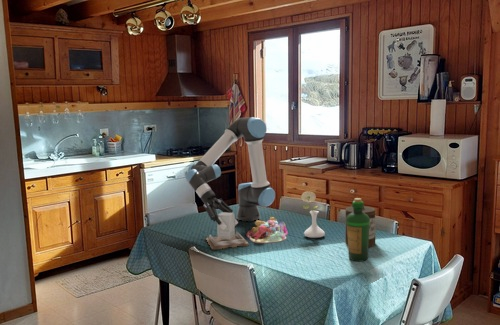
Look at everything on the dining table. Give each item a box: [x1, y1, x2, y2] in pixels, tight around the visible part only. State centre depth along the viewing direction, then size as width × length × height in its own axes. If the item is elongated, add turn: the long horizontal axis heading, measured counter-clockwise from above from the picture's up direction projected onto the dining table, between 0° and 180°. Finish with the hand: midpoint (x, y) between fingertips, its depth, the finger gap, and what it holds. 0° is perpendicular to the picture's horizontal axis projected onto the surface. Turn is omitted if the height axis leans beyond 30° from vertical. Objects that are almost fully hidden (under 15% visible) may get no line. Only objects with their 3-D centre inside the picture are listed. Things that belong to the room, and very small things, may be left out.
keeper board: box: [205, 231, 250, 251], centre depth 248 cm, size 19×18×3 cm
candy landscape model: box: [245, 216, 289, 244], centre depth 258 cm, size 25×24×9 cm
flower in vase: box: [300, 190, 326, 239], centre depth 253 cm, size 13×11×25 cm
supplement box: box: [216, 211, 236, 239], centre depth 247 cm, size 7×7×13 cm
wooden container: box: [344, 205, 376, 248], centre depth 237 cm, size 15×15×22 cm
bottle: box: [345, 197, 370, 262], centre depth 215 cm, size 11×11×28 cm
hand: (230, 226), depth 245 cm, fingers open, 9 cm apart
